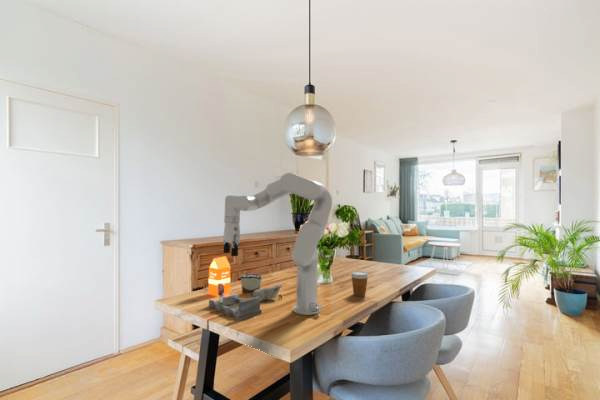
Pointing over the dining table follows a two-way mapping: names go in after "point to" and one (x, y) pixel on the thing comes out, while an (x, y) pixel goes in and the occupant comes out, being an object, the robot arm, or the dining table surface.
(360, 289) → the disposable coffee cup
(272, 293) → the decorative bird
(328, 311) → the dining table surface
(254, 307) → the nut press
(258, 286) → the food container
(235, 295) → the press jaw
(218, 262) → the orange juice
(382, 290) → the dining table surface
